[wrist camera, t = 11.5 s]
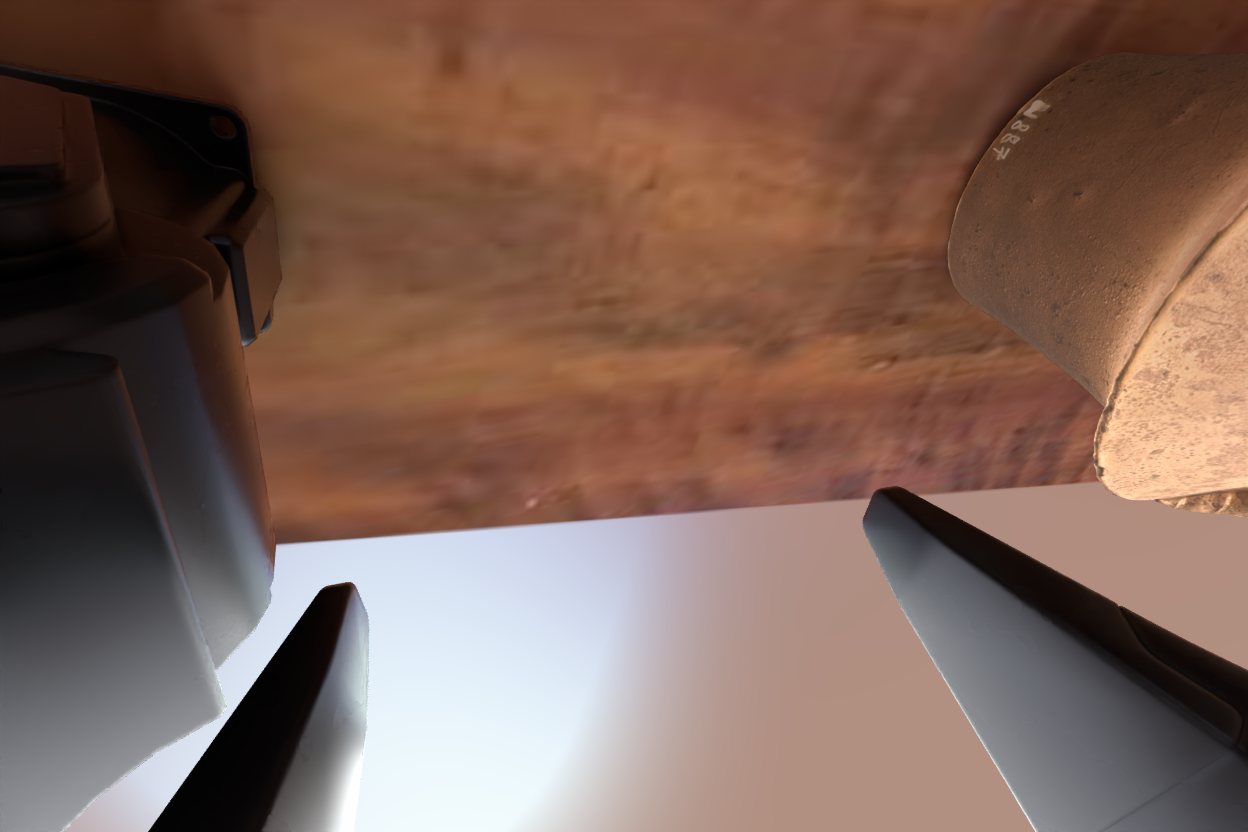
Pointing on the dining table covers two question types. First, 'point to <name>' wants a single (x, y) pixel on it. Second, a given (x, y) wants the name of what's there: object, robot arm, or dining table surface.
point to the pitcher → (1129, 262)
